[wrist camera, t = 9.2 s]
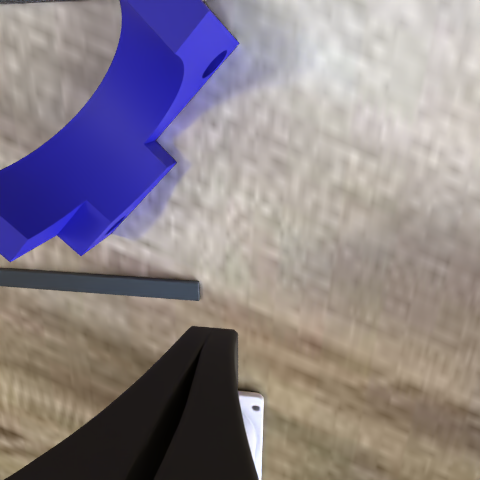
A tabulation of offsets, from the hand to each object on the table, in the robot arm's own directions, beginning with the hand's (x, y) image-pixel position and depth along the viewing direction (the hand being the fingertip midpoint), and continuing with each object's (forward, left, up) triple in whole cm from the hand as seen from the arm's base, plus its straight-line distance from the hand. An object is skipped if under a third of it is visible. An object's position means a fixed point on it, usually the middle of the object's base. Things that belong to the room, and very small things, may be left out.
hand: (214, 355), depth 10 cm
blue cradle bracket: (+6, +5, -10) cm, 12 cm away
